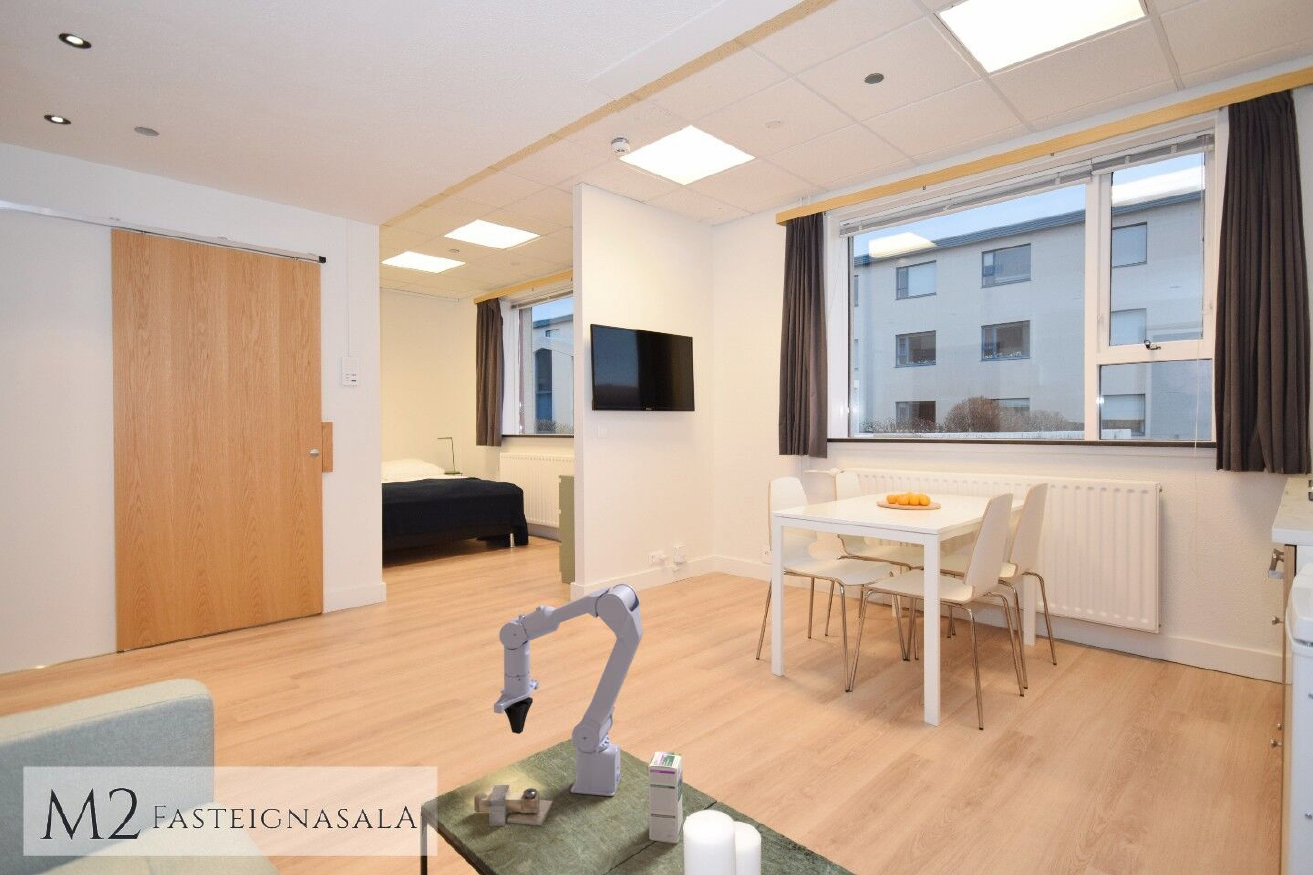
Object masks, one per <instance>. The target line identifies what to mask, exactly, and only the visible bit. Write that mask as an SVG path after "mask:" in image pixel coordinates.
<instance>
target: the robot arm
mask: <svg viewBox="0 0 1313 875" xmlns="http://www.w3.org/2000/svg"><path fill="white" fill-rule="evenodd" d="M641 602H642V601H641V599H640V598H639V596H638V594H637V591H636V590H635V588H633V587H632V585H630V584H628V583H617V584H616V585H615V586H613V587H612V586H609V587H605V588H601V589H599V590H595V591H592V592H589V593H588V594H586V595H584V596H582V597H579V598H577V599H575V600H573V601H570V602H568V603H566V604H563V605H561V606H559V607H557V608H556V607H554V606H552V605H551V606H550V605H546V606H544V604H541V605H538V606H537V607H535V610H534V611H531V612H529V613H527V614H525V612H524V613H520V614H519V615H518V616H516V617H515V618H513V619H511V620H510V621H508V622H506V623H505V624H504V625H503V626H502V627H501V628H500V630H499V632H498V634H499V635H498V636H499V641H500V643H501V644H502V645H503V679H504V680H503V688H502V689H500V694H501V695H500V696H499V698H498V700H497V701H495V703H493V713H495V714H500V715H502V714H503V713H505V714H506V716H507V719H508V722H509V726H510V729H511V732H512V733H514V734H518V735H520V734H521V733H523V731H524V729H525V723H526V720H527V716H528V713H529V711H530V708H531V706H532V704H533V703H534V699H533V697H531V695H532V694H533V692H534V691H536V690H539V688H540V686H539V683H540V681H539V680H538V679H534V678H533V679H532V678H531V641H533V640H536V639H538V638H541V637H544V636H546V635H548V634H551V633H554V632H556V631H558V629H559V628H560V625H561V623H563V622H566V621H569V620H572V619H575V618H578V617H581V616H583V615H586V614H589V615H590V616H591V617H593V618H595V619H596V618H600V619H601V620H602V622H604V624H605V625H606V626H608V628H609V629H610V630H611V631H612V632H613V634H614V635H615V638H616V640H615V643H614V644H613V647H612V650H611V653H610V654H609V657H608V659H607V662H606V665H605V667H604V670H603V672H602V675H601V677H600V680H599V682H598V685H597V687H596V689H595V691H594V694H593V697H592V699H591V702H590V704H589V705H588V707H587V709H586V710H585V713H584V714H583V717H582V718H581V720H580V721H579V723H577V724H575V726H574V728H573V729H572V732H571V739H572V743H573V744H574V746H575V747H576V748H575V749H576V752H575V754H576V758H575V759H576V762H575V763H576V778H575V781H574V783H573V785H572V787H571V788H570V792H571V793H573V794H584V795H593V796H594V795H596V796H604V797H605V796H606V797H613V796H615V794H616V792H617V789H618V787H619V784H620V781H621V778H622V774H621V746H620V745H618V744H615V743H614V744H613V743H612V742H610V737H609V732H610V730H611V729H612V727H613V723H614V720H613V718H614V717H613V714H614V711H615V704H616V701H617V700H618V696H619V694H620V691H621V689H622V687H623V684H624V682H625V680H626V677H627V674H628V671H629V670H630V668H631V665H632V662H633V660H634V658H635V654H636V653H637V650H638V648H639V645H640V643H641V640H642V638H643V634H644V632H643V631H644V630H643V622H642V615H641V604H642V603H641Z"/></svg>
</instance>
